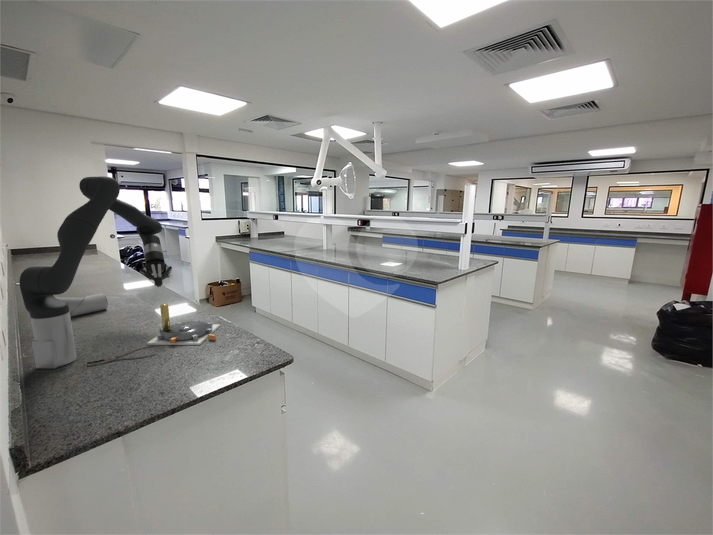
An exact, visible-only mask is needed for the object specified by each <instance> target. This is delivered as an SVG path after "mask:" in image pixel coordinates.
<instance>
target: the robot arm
mask: <svg viewBox="0 0 713 535" xmlns="http://www.w3.org/2000/svg"><path fill="white" fill-rule="evenodd" d="M78 185H79V187H78V188H79V190H80V192H81V194H82V195H83V196H85V198H87V199H88V201H87V202H86V203H84V204H83V205H81V206H79V207H78V208H77V209H74V210H73V211H72V212H70V213H69V214H68V215H67V216H66V217H65V219H64V220H63V222H62V223H61V225H60V227H59V228H58V230H57V236H56V237H57V242H58V245H59V248H60V253H59V255H58V257H57V260H55V263H54V264H52V265H51V266H42V265H41V266H40V265H39V266H30V267H27V268H25V269H23V271H22V272H21V274H20V276H19V280H18V281H19V290H20V294H21V297H22V301H23V304H24V308H25V309H26V311H27V313H29V317H30V322H31V328H32V334H33V338H34V339H33V340H32V341H31V346H32V353H33V359H34V363H35V368H36V369H57V368H59V367H62V366H65V365H68V364H70V363H72V362H74V361H76V359H77V358H78V357H77V353H76V352H77V351H76V345H75V339H74V331H73V326H72V319H71V318H72V317H70V316H71V315H70V311H69V306H68V304H67V303H65V302H63V301H60V300H58V299H57V298H55V297H56V296H59V295H62V294H64V293H66V292H67V291H68V290H69V289H70V287H71V285H72V284H73V282H74V280H75V276H76V274H77V271H78V269H79V266H80V263H81V261H82V259H83V256H84V254H85V252H86V250H87V249H88V247H89V245H90V243H91V241H92V240H93V239H94V236H95V234H96V233H97V231H98V228H99V226H100V224H101V223H102V221H103V219H104V218H105V216H106V214H107V212H108V211H109V210H110V211H111V212H113V213H114V214H116V215H118V216H119V217H121V218H122V219H123V220H125V221H126V222H128V223H129V224H130V225H132V226H133V227H136V228H135V230H136V232H137V234H138V236H139V237H140V239H141V241H142V246H143V257H144V262H145V264H144V267H142V268H140V269H139V273H140V274H141V275H142V276H144V277H146V278H147V279H148V280H150V281H152V280H153V281H154V285H155V286H156V287H157V288H159V287H160V288H161V287H162V286H163V279H166V278H168V275H170V273H171V272H172V271H173V267H172V266H170V265H169V266H168V264H166V261H165V257H164V252H163V249H162V244H161V239H160V237H159V236H158V235H157V234H160V233H161V232H162V230H163V227H162V223H161V222H160V221H158V220H157V219H156V218H153V217H151V216H149V215H146V214H144V212H142V211H141V210H140V209H139V208H137V207H136V206H134V205H132V204H130V203H128V202H125V201H123V200H121V199H119V198H118V197H119V195H120V192H121V191H120V189H121V188H120V185H119V182H118V181H117V180H116V179H115V178H114V177H111V176H104V175H103V176H86V177H83V178H82V179H80V181H79V184H78Z"/></svg>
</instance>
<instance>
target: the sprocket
mask: <svg viewBox="0 0 713 535" xmlns="http://www.w3.org/2000/svg"><path fill="white" fill-rule="evenodd" d="M159 307H160V318H161V328H159V330H158V331H159V333H160V334H157V335H156V337H157V339H158V340H161V339H164V340H167V341H170V343H176V342H177V341H185V340H191V339H192V340H197V339H198V337H201V336H203V335H205V334H207V333H212V328H210V327H212V324H213V322H211V321H209V322H206V321H201V320H200V319H199V320H198V319H195V320H194V321H184V322H180V321H178V322H175V323H174V324H172V325H171V322H170V312H169V304H168V303H161V304H160V305H159ZM212 334H213V333H212Z"/></svg>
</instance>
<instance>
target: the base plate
mask: <svg viewBox="0 0 713 535" xmlns="http://www.w3.org/2000/svg"><path fill="white" fill-rule="evenodd" d="M220 326H221V325H220V324H217V323H216V324H215V323H212V327H210V328H212V333H207V334H205V335H203V336H201V337H198V339H197V340H192V339H191V340H185V341H177V342H176V343H170V341H167V340H164V339H161V340H158V339H157V336H154V338H152V339H151V340H149V341H148V342H147V346H161V345H162V346H200V345H202V344H203V343H204V342H205V341H206V340H209V341H215V340H217V335H216V334H213V333H215V331H216V330H218V329H219V328H220Z"/></svg>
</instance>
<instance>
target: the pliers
mask: <svg viewBox="0 0 713 535" xmlns="http://www.w3.org/2000/svg"><path fill="white" fill-rule="evenodd" d="M154 346H155V345H147V346H143V347H138V348H135V349H133V350H130V351H128V352H127V351H126V352H124V353H122V354H119V355H114V356H113V355H112V356H108V357H104V358H99V359H95V360H90V361H87V363H86V364H88V365H86V368H89V367H95V366H100V365H105V364H108V363H112V362H118V361H127V360H128V361H129V360H139V359H146V358H150V357H153V356H157V353H152V354H149V355H144V356H135V357H124V356H127V355H129V354H132V353H134V352H137V351H139V350H143V349H147V348H149V349H150V348H154Z"/></svg>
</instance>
